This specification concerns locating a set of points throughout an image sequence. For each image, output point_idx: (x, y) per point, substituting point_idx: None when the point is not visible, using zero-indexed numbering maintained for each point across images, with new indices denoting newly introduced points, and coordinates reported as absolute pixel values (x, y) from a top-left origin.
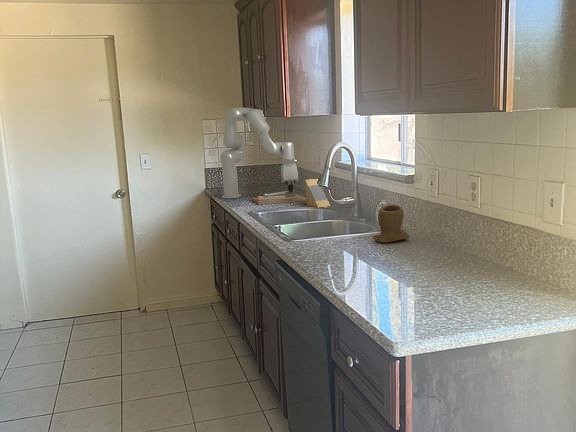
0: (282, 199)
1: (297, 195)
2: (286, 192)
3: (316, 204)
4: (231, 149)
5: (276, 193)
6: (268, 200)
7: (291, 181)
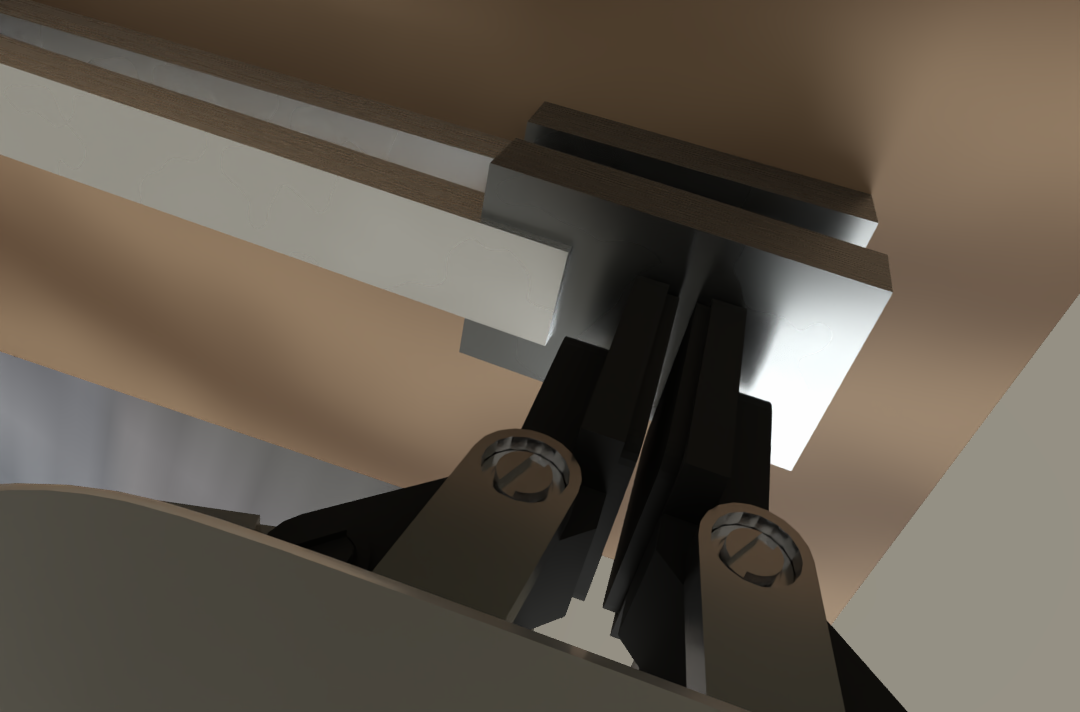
0: (307, 443)
1: (1014, 223)
2: (471, 350)
3: None
4: None
5: (155, 201)
6: (18, 325)
7: (716, 697)
